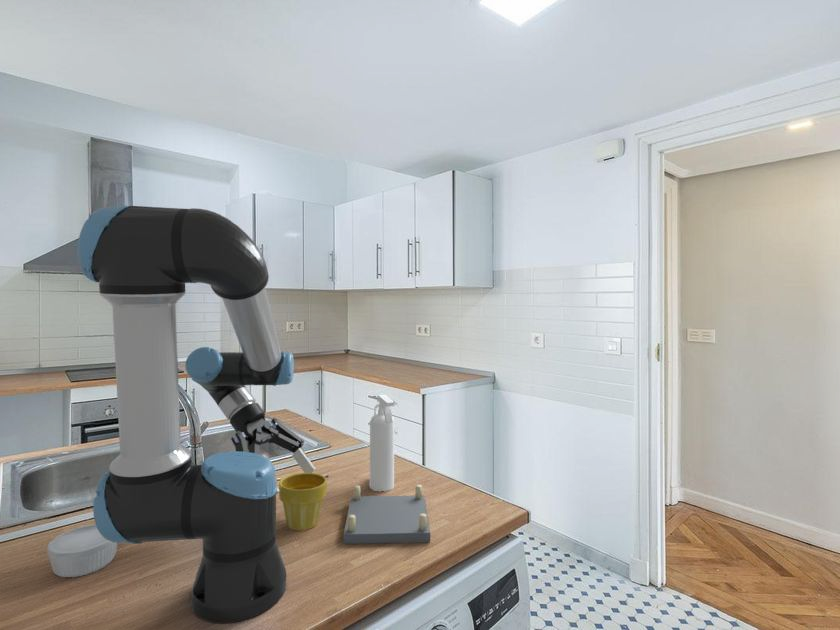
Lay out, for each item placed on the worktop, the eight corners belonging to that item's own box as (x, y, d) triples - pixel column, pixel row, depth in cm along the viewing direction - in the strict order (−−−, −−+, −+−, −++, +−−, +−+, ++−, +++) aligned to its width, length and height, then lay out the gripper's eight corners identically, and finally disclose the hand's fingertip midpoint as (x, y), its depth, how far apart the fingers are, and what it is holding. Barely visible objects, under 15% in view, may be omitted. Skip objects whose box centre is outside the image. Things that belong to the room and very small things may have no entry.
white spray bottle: (384, 474, 131) (384, 388, 129) (401, 492, 120) (401, 399, 118) (362, 478, 128) (361, 391, 126) (377, 497, 118) (376, 402, 116)
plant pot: (324, 510, 109) (325, 470, 109) (328, 531, 99) (328, 487, 99) (279, 515, 107) (279, 474, 106) (278, 538, 97) (278, 492, 96)
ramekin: (109, 541, 95) (109, 516, 94) (129, 562, 87) (129, 535, 87) (40, 566, 86) (39, 538, 86) (56, 590, 79) (55, 560, 79)
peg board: (430, 542, 96) (430, 518, 96) (343, 543, 95) (343, 520, 94) (424, 503, 114) (424, 483, 113) (351, 504, 113) (351, 484, 112)
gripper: (268, 409, 122) (315, 473, 118) (191, 435, 99) (246, 516, 94) (284, 391, 120) (333, 456, 116) (210, 413, 97) (268, 495, 92)
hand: (294, 483), depth 105 cm, fingers open, 13 cm apart
